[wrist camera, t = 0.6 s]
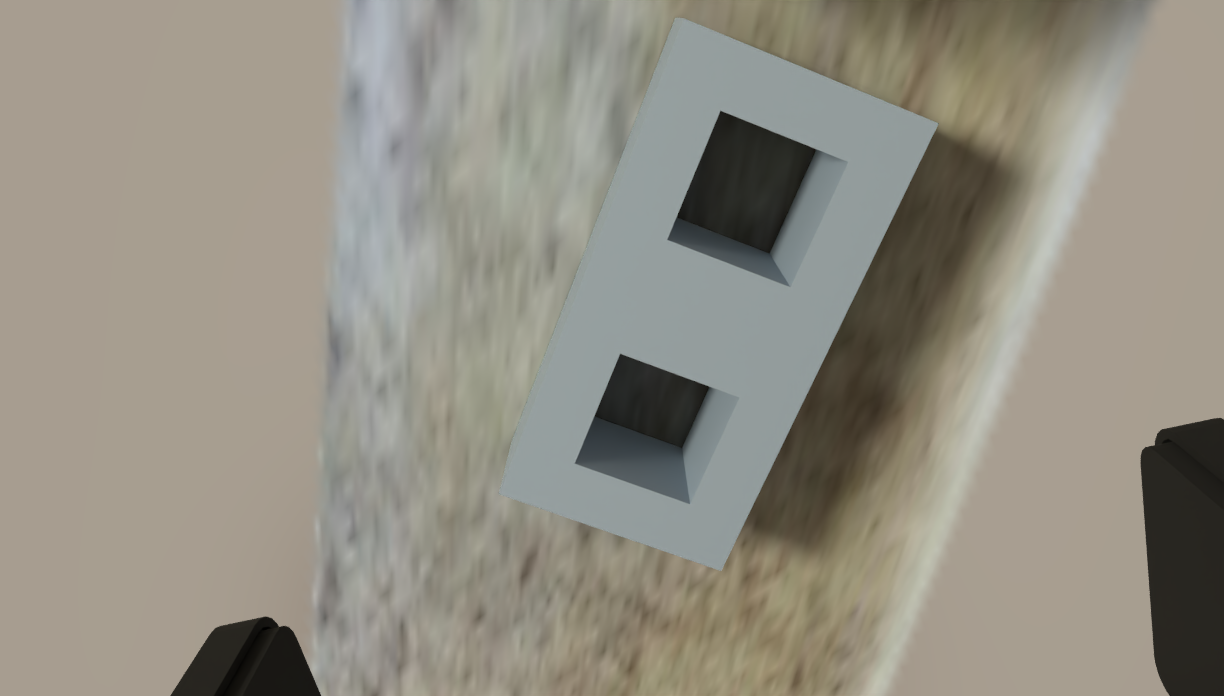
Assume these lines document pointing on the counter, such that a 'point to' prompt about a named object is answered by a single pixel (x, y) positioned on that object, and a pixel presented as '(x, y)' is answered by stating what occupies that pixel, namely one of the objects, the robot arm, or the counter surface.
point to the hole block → (708, 299)
